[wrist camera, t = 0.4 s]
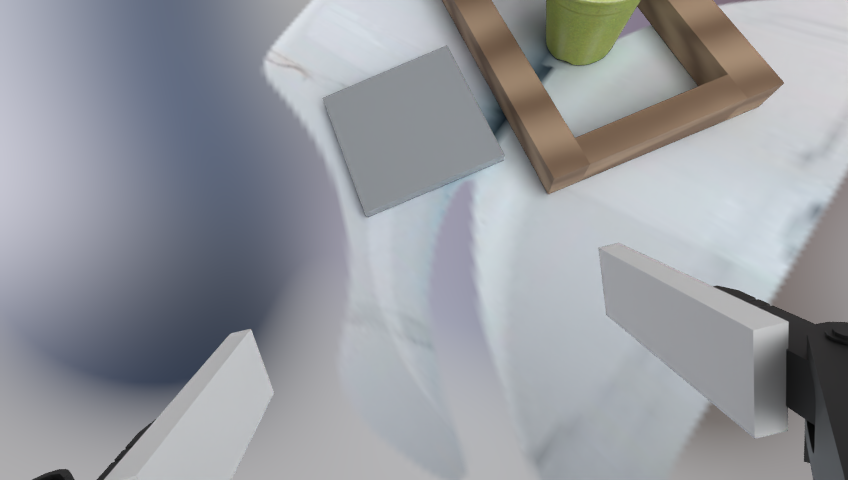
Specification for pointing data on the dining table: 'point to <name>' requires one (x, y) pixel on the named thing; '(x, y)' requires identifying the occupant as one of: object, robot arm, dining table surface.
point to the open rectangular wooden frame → (637, 133)
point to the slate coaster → (411, 131)
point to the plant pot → (585, 27)
